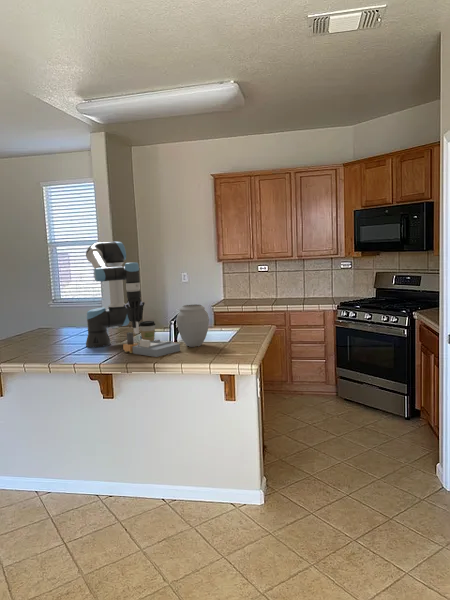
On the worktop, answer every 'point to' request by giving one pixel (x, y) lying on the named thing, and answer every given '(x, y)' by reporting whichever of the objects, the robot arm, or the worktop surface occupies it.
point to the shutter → (146, 343)
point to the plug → (129, 343)
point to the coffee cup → (147, 330)
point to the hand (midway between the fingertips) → (136, 333)
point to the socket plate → (157, 348)
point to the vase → (193, 324)
